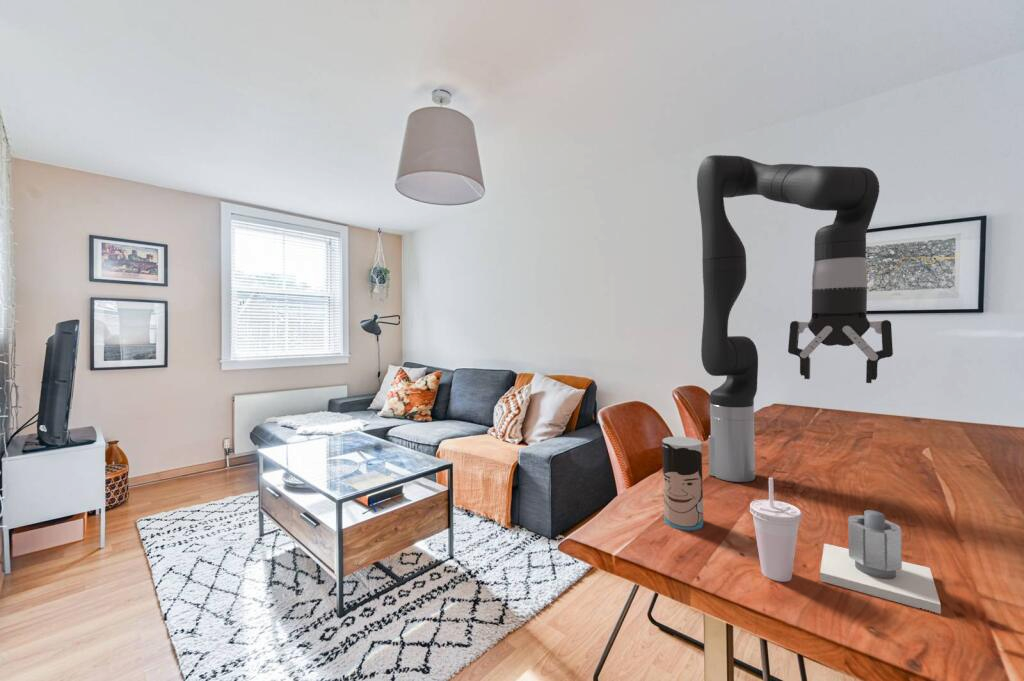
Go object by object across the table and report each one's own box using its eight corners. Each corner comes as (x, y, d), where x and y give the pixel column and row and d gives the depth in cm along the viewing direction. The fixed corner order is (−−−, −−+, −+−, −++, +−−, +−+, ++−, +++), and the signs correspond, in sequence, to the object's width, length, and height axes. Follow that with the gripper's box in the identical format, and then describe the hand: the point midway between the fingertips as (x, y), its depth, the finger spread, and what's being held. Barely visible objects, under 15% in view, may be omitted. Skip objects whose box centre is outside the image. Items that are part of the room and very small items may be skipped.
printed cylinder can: (656, 518, 81) (654, 439, 81) (683, 511, 84) (681, 435, 84) (683, 533, 75) (681, 447, 75) (711, 525, 78) (710, 442, 77)
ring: (848, 561, 60) (848, 526, 60) (848, 545, 64) (848, 512, 64) (903, 575, 56) (902, 537, 56) (899, 556, 61) (899, 521, 61)
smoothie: (741, 563, 65) (739, 471, 65) (781, 560, 66) (780, 469, 65) (770, 589, 59) (768, 487, 58) (814, 585, 59) (813, 484, 59)
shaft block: (820, 580, 60) (819, 515, 60) (824, 550, 68) (823, 493, 68) (940, 614, 53) (940, 539, 52) (929, 576, 60) (929, 511, 60)
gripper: (786, 288, 75) (785, 380, 76) (895, 282, 66) (892, 387, 67) (792, 289, 81) (791, 375, 82) (893, 284, 72) (890, 380, 73)
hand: (837, 380), depth 75 cm, fingers open, 8 cm apart
